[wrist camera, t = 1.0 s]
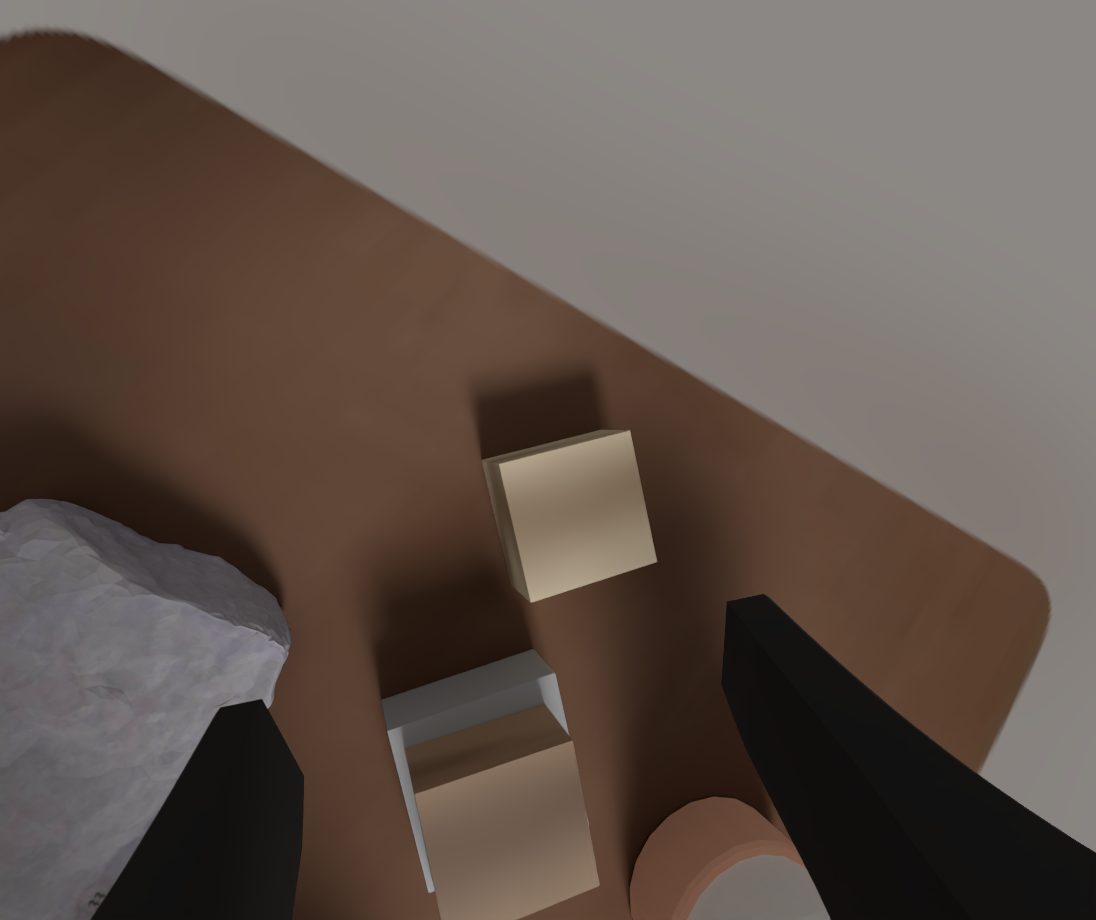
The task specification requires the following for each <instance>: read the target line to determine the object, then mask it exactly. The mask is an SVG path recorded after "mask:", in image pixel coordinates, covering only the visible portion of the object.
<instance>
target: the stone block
mask: <svg viewBox="0 0 1096 920" xmlns="http://www.w3.org/2000/svg"><path fill="white" fill-rule="evenodd" d="M290 631H291V629H290V628H289V627H288V622H287V621H286V619H285V617H284V613H283V611H282V610H281V608H280V606H279V604H278V601H277V598H276V597H275V596H273V595H272V594H271V593H270V592H269V591H268V590H266V589H265V588H263V587H261V586H259V585H257V584H256V583H254V582H253V581H252V580H250V579H249V578H248V577H246V576H245V575H244V574H242V573H241V572H240V571H239V570H238V569H237V568H236V567H235V566H233V565H231V564H229V563H227V562H226V561H225V560H223V559H222V558H220V557H218V556H211V555H207V554H204V553H199V552H195V551H191V550H188V549H184V548H183V547H182V546H181V545H178V544H164V543H157V542H155V541H153V540H151V539H149V538H147V537H144V536H141V535H139V534H138V533H136V532H135V531H134V530H132V529H131V528H128V527H125V526H124V525H122V524H121V523H119V522H116V521H114V520H111V519H109V518H107V517H105V516H103V515H100V514H98V513H96V512H93V511H91V510H88V509H86V508H83V507H81V506H78V505H76V504H72V503H69V502H67V501H57V500H53V499H26V500H24V501H22V502H20V503H19V504H17V505H15V506H14V507H12V508H10V509H9V510H7V511H6V512H0V920H90V919H91V918H92V916H93V915H94V913H95V912H96V910H97V909H98V907H99V906H100V904H101V903H102V901H103V900H104V898H105V897H106V895H107V894H108V892H109V891H110V889H111V888H112V886H113V885H114V883H115V881H116V880H117V878H118V877H119V875H120V874H121V872H122V870H123V869H124V867H125V866H126V864H127V862H128V861H129V859H130V858H131V856H132V854H133V853H134V851H135V849H136V848H137V846H138V845H139V843H140V841H141V840H142V838H143V836H144V835H145V833H146V832H147V830H148V828H149V827H150V825H151V823H152V822H153V820H154V819H155V817H156V815H157V814H158V812H159V810H160V809H161V807H162V805H163V804H164V802H165V800H166V798H167V797H168V795H169V793H170V792H171V790H172V788H173V787H174V785H175V783H176V781H177V780H178V778H179V776H180V775H181V773H182V771H183V769H184V768H185V766H186V764H187V762H188V761H189V759H190V757H191V755H192V754H193V752H194V750H195V749H196V747H197V745H198V743H199V742H200V740H201V738H202V736H203V735H204V733H205V731H206V729H207V728H208V726H209V724H210V722H211V721H212V719H213V717H214V715H215V714H216V712H217V711H218V710H219V709H220V707H225V706H230V705H234V704H239V703H244V702H249V701H254V700H258V699H262V700H263V701H264V703H265V705H266V707H267V709H268V708H269V707H270V706H271V704H272V702H273V700H274V688H275V684H276V680H277V678H278V676H279V674H280V672H281V668H282V666H283V664H284V662H285V660H286V659H287V656H288V654H289V652H288V649H289V646H290V642H291V639H290Z"/></svg>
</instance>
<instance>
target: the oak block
mask: <svg viewBox="0 0 1096 920" xmlns="http://www.w3.org/2000/svg"><path fill="white" fill-rule="evenodd" d="M482 464H483V469H484V473H485V477H486V481H487V486H488V490H489V494H490V499H491V503H492V507H493V511H494V516H495V520H496V524H497V528H498V533H499V537H500V541H501V546H502V550H503V554H504V558H505V563H506V567H507V571H508V576H509V580H510V584H511V586H512V587H514V588H515V589H516V590H517V591H518V592H519V593H520V594H522V595H523V596H524V597H525V598H526V599H527V600H528V601H530V602H531V603H532V602H535V601H538V600H541V599H544V598H547V597H550V596H553V595H556V594H559V593H563V592H566V591H569V590H572V589H575V588H578V587H581V586H584V585H587V584H591V583H594V582H597V581H600V580H603V579H606V578H609V577H612V576H615V575H618V574H622V573H625V572H628V571H631V570H634V569H637V568H640V567H643V566H646V565H649V564H653V563H656V562H657V559H656V554H655V549H654V544H653V540H652V535H651V530H650V525H649V520H648V515H647V510H646V506H645V501H644V496H643V491H642V486H641V481H640V476H639V472H638V467H637V462H636V457H635V452H634V447H633V442H632V438H631V433H630V430H598V431H594V432H590V433H586V434H582V435H578V436H574V437H570V438H566V439H562V440H558V441H554V442H550V443H547V444H543V445H539V446H535V447H531V448H527V449H523V450H519V451H515V452H511V453H507V454H503V455H499V456H495V457H491V458H487V459H483V460H482Z"/></svg>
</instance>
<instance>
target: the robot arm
mask: <svg viewBox="0 0 1096 920" xmlns="http://www.w3.org/2000/svg"><path fill="white" fill-rule="evenodd" d="M722 687H723V690H724V693H725V695H726V698H727V701H728V704H729V706H730V709H731V712H732V715H733V717H734V720H735V723H736V725H737V728H738V730H739V733H740V736H741V738H742V741H743V743H744V746H745V748H746V750H747V752H748V754H749V756H750V758H751V760H752V762H753V764H754V766H755V768H756V770H757V772H758V774H759V776H760V778H761V780H762V782H763V784H764V786H765V788H766V790H767V792H768V794H769V796H770V798H771V800H772V802H773V804H774V806H775V808H776V810H777V812H778V814H779V816H780V818H781V820H782V822H783V824H784V826H785V828H786V830H787V832H788V834H789V835H790V837H791V839H792V841H793V843H794V845H795V847H796V849H797V851H798V853H799V855H800V857H801V859H802V861H803V863H804V865H805V867H806V869H807V871H808V873H809V875H810V877H811V879H812V881H813V883H814V885H815V887H816V889H817V891H818V893H819V895H820V897H821V900H822V902H823V904H824V906H825V908H826V910H827V913H828V915H829V917H830V919H831V920H1096V853H1095V852H1094V851H1092V850H1091V849H1089V848H1087V847H1085V846H1084V845H1082V844H1081V843H1079V842H1077V841H1076V840H1074V839H1073V838H1071V837H1070V836H1068V835H1067V834H1065V833H1064V832H1062V831H1061V830H1059V829H1058V828H1056V827H1054V826H1052V825H1051V824H1050V823H1048V822H1047V821H1045V820H1044V819H1042V818H1041V817H1039V816H1038V815H1036V814H1035V813H1033V812H1032V811H1030V810H1029V809H1027V808H1026V807H1024V806H1023V805H1021V804H1020V803H1018V802H1017V801H1015V800H1014V799H1013V798H1011V797H1010V796H1008V795H1007V794H1005V793H1004V792H1002V791H1001V790H1000V789H998V788H997V787H995V786H994V785H992V784H991V783H989V782H988V781H987V780H985V779H984V778H982V777H981V776H980V775H978V774H977V773H976V772H974V771H973V770H971V769H970V768H969V767H967V766H966V765H965V764H963V763H962V762H961V761H959V760H958V759H957V758H955V757H954V756H953V755H951V754H950V753H949V752H947V751H946V750H945V749H943V748H942V747H941V746H940V745H938V744H937V743H936V742H934V741H933V740H932V739H931V738H929V737H928V736H927V735H925V734H924V733H923V732H921V731H920V730H919V729H918V728H916V727H915V726H914V725H913V724H911V723H910V722H909V721H908V720H906V719H905V718H904V717H903V716H901V715H900V714H899V713H898V712H897V711H895V710H894V709H893V708H892V707H890V706H889V705H888V704H887V703H886V702H885V701H883V700H882V699H881V698H880V697H879V696H877V695H876V694H875V693H874V692H873V691H872V690H870V689H869V688H868V687H867V686H866V685H865V684H863V683H862V682H861V681H860V680H859V679H857V678H856V677H855V676H854V675H853V674H852V673H850V672H849V671H848V670H847V669H846V668H845V667H844V666H843V665H841V664H840V663H839V662H838V661H837V660H836V659H835V658H834V657H832V656H831V655H830V654H829V653H828V652H827V651H826V650H825V649H824V648H823V647H821V646H820V645H819V644H818V643H817V642H816V641H815V640H814V639H813V638H812V637H811V636H809V635H808V634H807V633H806V632H805V631H804V630H803V629H802V628H801V627H800V626H799V625H798V624H797V623H796V622H794V621H793V620H792V619H791V618H790V617H789V616H788V615H787V614H786V613H785V612H784V611H783V610H782V609H781V608H780V607H779V606H778V605H777V604H776V603H774V602H773V601H772V600H771V599H770V598H769V597H768V596H766V595H765V594H761V595H757V596H752V597H747V598H742V599H738V600H733V601H728V602H727V608H726V623H725V638H724V654H723V669H722ZM303 801H304V775H303V773H302V771H301V770H300V768H299V766H298V764H297V762H296V760H295V758H294V757H293V755H292V753H291V751H290V749H289V747H288V746H287V744H286V742H285V740H284V738H283V736H282V735H281V733H280V731H279V729H278V727H277V725H276V723H275V722H274V720H273V718H272V716H271V714H270V712H269V711H268V709H267V707H266V705H265V703H264V701H263V700H262V699H258V700H254V701H249V702H244V703H239V704H234V705H230V706H225V707H220V709H219V710H218V711H217V712H216V714H215V715H214V717H213V719H212V721H211V722H210V724H209V726H208V728H207V729H206V731H205V733H204V735H203V736H202V738H201V740H200V742H199V743H198V745H197V747H196V749H195V750H194V752H193V754H192V755H191V757H190V759H189V761H188V762H187V764H186V766H185V768H184V769H183V771H182V773H181V775H180V776H179V778H178V780H177V781H176V783H175V785H174V787H173V788H172V790H171V792H170V793H169V795H168V797H167V798H166V800H165V802H164V804H163V805H162V807H161V809H160V810H159V812H158V814H157V815H156V817H155V819H154V820H153V822H152V823H151V825H150V827H149V828H148V830H147V832H146V833H145V835H144V836H143V838H142V840H141V841H140V843H139V845H138V846H137V848H136V849H135V851H134V853H133V854H132V856H131V858H130V859H129V861H128V862H127V864H126V866H125V867H124V869H123V870H122V872H121V874H120V875H119V877H118V878H117V880H116V881H115V883H114V885H113V886H112V888H111V889H110V891H109V892H108V894H107V895H106V897H105V898H104V900H103V901H102V903H101V904H100V906H99V907H98V909H97V910H96V912H95V913H94V915H93V916H92V918H91V919H90V920H292V914H293V907H294V900H295V893H296V886H297V879H298V872H299V865H300V857H301V850H302V831H303Z"/></svg>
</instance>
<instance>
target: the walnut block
mask: <svg viewBox="0 0 1096 920" xmlns="http://www.w3.org/2000/svg"><path fill="white" fill-rule="evenodd" d="M404 750H405V755H406V759H407V764H408V769H409V773H410V778H411V783H412V787H413V792H414V797H415V801H416V806H417V810H418V815H419V820H420V824H421V829H422V834H423V838H424V843H425V848H426V852H427V857H428V862H429V866H430V871H431V876H432V880H433V885H434V889H435V894H436V898H437V903H438V907H439V912H440V917H441V920H517V919H520V918H522V917H524V916H527V915H529V914H532V913H534V912H537V911H539V910H541V909H544V908H546V907H549V906H551V905H554V904H556V903H559V902H561V901H563V900H566V899H568V898H571V897H573V896H576V895H578V894H580V893H583V892H585V891H588V890H590V889H593V888H595V887H597V886H600V884H599V879H598V874H597V868H596V863H595V857H594V852H593V847H592V841H591V836H590V831H589V825H588V820H587V815H586V809H585V804H584V798H583V793H582V788H581V782H580V777H579V772H578V766H577V761H576V755H575V750H574V745H573V740H572V739H571V737H570V736H569V735H568V734H567V732H566V731H565V730H564V728H563V727H562V726H561V724H560V723H559V722H558V720H557V719H556V718H555V716H554V715H553V714H552V712H551V711H550V710H549V709H548V707H547V706H546V705H545V703H544V704H541V705H538V706H535V707H531V708H528V709H525V710H522V711H519V712H516V713H513V714H510V715H507V716H503V717H500V718H497V719H494V720H491V721H488V722H485V723H482V724H479V725H475V726H472V727H469V728H466V729H463V730H460V731H457V732H454V733H451V734H447V735H444V736H441V737H438V738H435V739H432V740H429V741H426V742H423V743H419V744H416V745H413V746H410V747H407V748H404Z"/></svg>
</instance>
